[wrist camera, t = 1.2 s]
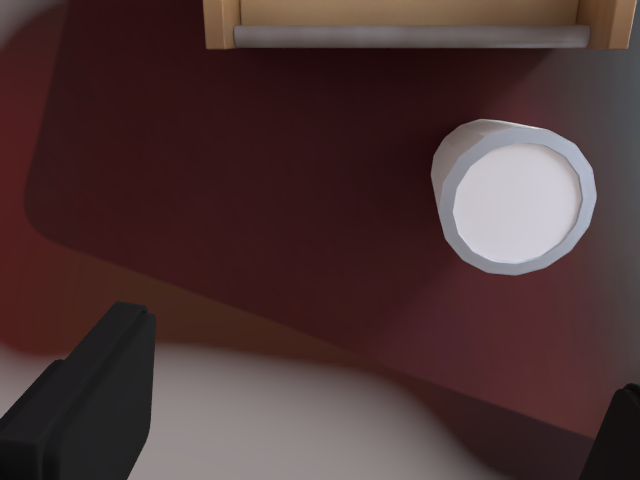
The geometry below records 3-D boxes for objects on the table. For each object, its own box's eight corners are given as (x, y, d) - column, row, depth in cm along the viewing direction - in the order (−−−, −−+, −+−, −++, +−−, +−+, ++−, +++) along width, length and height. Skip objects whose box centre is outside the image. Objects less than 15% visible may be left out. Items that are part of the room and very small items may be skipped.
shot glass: (565, 127, 30) (626, 153, 23) (515, 240, 32) (557, 293, 25) (444, 91, 29) (472, 107, 23) (403, 208, 32) (417, 253, 25)
